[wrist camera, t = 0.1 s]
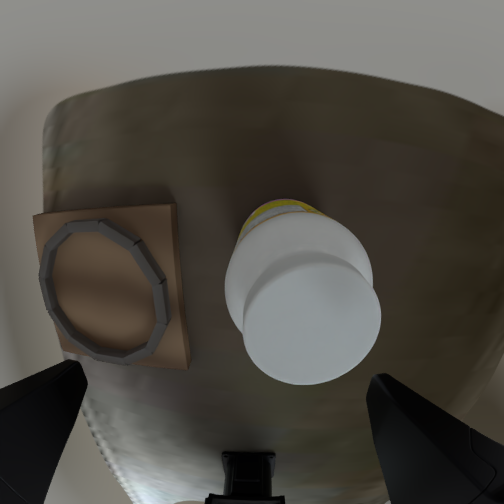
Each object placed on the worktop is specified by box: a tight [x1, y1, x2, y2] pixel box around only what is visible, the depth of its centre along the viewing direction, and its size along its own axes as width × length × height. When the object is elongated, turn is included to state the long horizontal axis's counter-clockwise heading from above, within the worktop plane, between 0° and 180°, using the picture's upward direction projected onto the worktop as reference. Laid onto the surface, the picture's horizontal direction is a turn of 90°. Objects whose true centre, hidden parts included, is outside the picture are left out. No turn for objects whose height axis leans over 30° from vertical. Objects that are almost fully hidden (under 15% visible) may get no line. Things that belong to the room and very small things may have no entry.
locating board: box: [33, 203, 191, 370], centre depth 21 cm, size 14×14×3 cm
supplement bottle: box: [225, 199, 381, 385], centre depth 15 cm, size 7×7×13 cm
